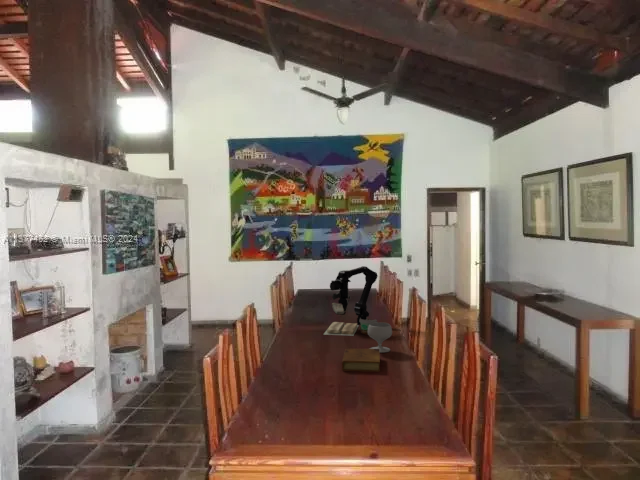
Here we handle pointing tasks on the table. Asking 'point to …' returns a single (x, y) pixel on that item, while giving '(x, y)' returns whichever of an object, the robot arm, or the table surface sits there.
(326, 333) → the underlay mat
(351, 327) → the oak board
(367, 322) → the food container
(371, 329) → the chalice
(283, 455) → the table surface
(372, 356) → the diary
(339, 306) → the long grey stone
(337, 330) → the plank
